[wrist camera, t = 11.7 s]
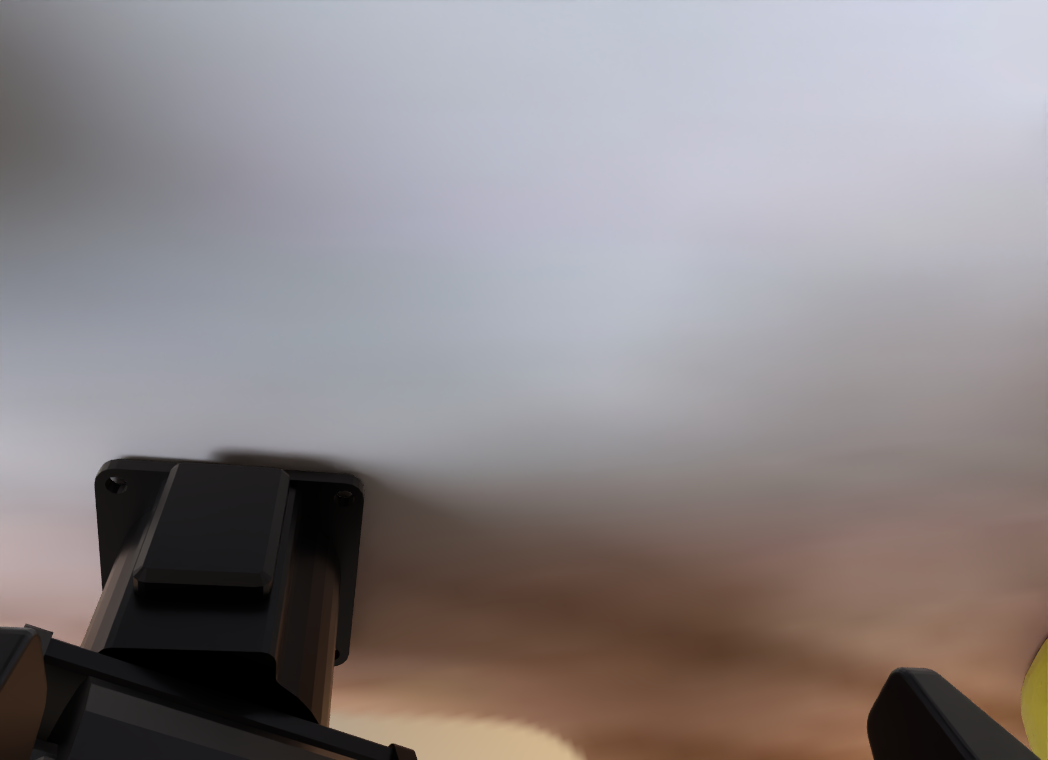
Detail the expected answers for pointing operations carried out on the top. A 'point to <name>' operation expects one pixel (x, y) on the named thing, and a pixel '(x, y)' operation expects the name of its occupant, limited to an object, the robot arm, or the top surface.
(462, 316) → the top surface
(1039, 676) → the apple
